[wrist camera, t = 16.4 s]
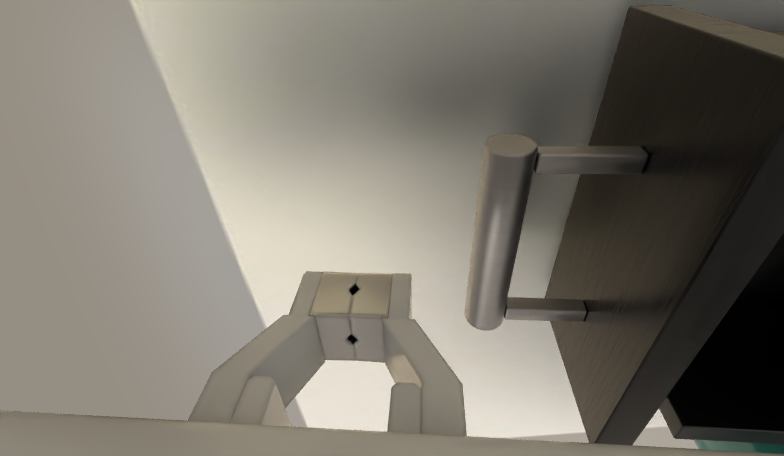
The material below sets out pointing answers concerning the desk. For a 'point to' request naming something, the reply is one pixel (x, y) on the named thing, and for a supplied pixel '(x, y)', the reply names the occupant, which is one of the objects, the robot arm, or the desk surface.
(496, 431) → the desk surface
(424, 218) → the desk surface
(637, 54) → the drawer
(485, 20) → the desk surface
